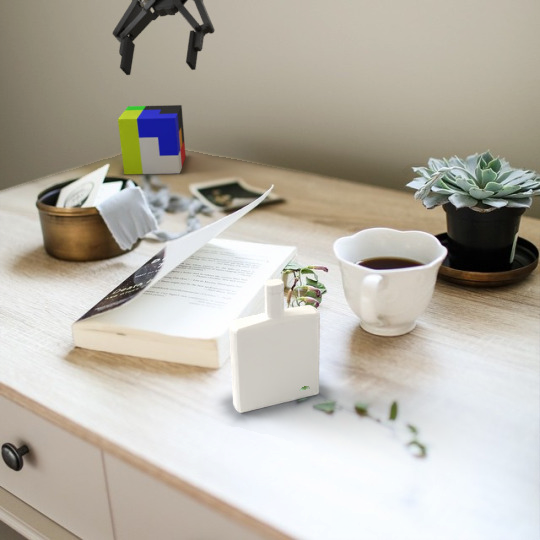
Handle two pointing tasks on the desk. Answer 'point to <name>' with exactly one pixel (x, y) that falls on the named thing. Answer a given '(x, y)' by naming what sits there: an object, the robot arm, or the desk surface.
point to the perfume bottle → (274, 353)
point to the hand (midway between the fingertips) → (157, 68)
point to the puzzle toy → (152, 139)
